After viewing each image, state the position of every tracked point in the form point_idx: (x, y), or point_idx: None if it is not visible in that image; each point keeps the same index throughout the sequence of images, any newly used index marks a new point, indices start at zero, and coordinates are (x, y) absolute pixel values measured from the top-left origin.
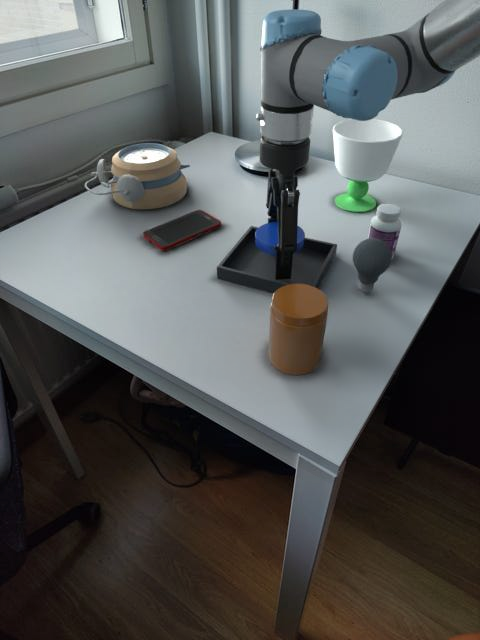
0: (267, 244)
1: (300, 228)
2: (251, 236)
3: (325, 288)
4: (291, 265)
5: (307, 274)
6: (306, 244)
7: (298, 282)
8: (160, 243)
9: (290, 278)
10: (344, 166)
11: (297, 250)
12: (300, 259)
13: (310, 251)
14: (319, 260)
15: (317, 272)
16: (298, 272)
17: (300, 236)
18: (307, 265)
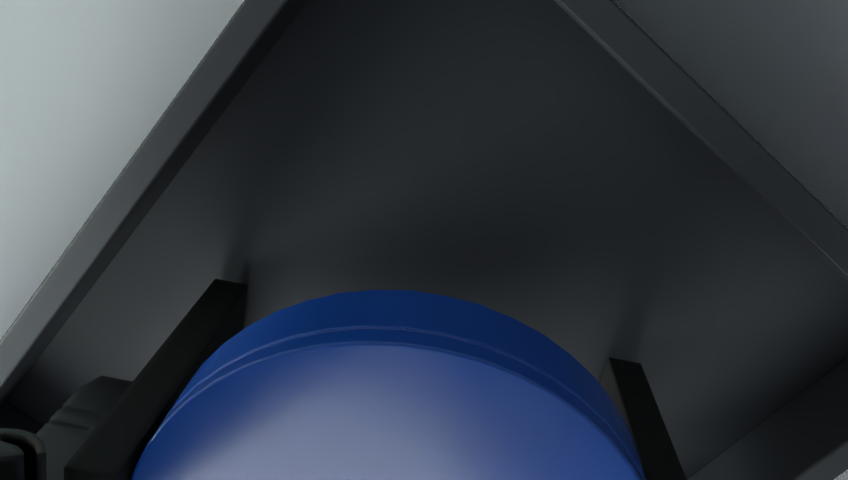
0: None
1: (339, 355)
2: (17, 422)
3: (811, 133)
4: (671, 445)
5: (621, 217)
6: (240, 80)
7: (686, 318)
8: None
9: (641, 369)
10: None
11: (634, 444)
12: (403, 186)
13: (307, 52)
14: (469, 34)
15: (630, 130)
16: (567, 270)
17: (518, 425)
18: (503, 166)
